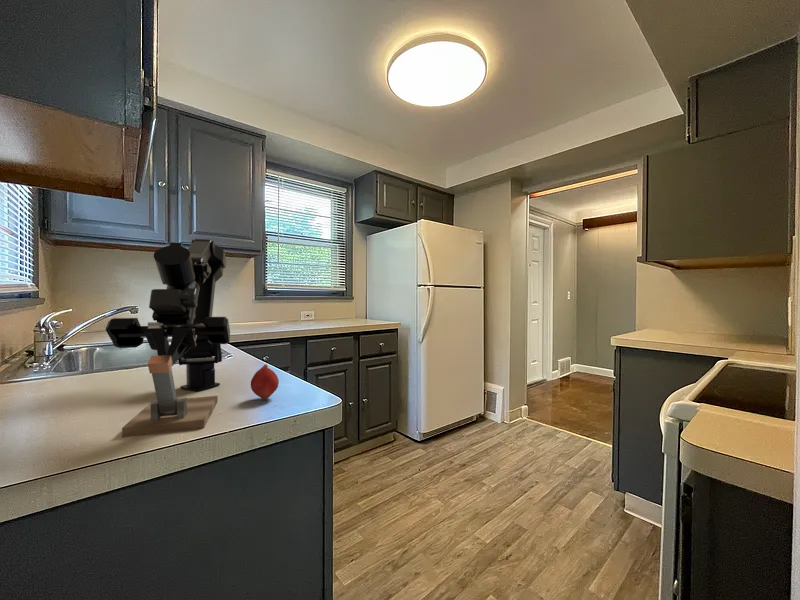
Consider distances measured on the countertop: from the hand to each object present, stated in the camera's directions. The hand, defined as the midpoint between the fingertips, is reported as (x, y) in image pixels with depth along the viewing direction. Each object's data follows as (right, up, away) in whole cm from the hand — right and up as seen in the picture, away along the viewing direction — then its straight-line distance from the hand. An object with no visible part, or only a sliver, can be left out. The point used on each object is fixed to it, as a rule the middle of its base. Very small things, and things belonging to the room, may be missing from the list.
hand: (163, 370), depth 59 cm
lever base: (-3, -10, +7) cm, 13 cm away
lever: (-1, -8, +3) cm, 8 cm away
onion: (+10, -11, +19) cm, 24 cm away
